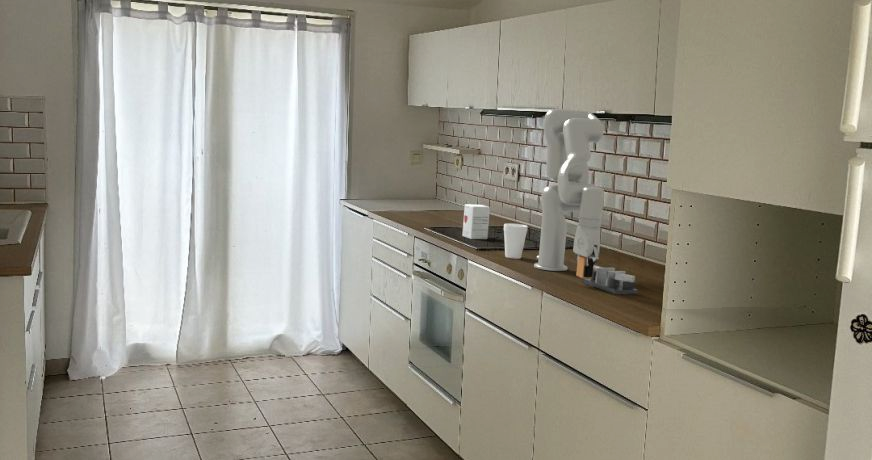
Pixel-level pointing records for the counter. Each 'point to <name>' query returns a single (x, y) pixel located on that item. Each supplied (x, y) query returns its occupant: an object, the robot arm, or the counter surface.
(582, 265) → the orange block
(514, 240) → the foam cup
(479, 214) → the supplement box
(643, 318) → the counter surface
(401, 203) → the counter surface
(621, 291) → the shaft stand
